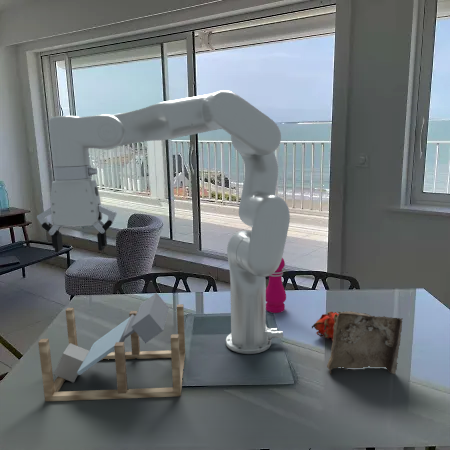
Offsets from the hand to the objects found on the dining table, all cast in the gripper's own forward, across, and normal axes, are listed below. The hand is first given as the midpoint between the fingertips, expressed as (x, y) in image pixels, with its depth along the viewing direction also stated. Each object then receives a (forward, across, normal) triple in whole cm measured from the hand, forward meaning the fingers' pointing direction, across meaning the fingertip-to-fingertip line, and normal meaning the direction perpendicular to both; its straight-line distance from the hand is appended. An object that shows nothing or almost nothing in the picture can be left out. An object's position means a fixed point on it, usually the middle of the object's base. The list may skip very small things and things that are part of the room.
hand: (80, 250), depth 94 cm
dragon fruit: (+32, -63, -15) cm, 72 cm away
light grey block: (+25, +3, 0) cm, 25 cm away
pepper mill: (+32, -50, -37) cm, 70 cm away
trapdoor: (+23, -10, 0) cm, 25 cm away
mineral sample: (+32, -65, +2) cm, 73 cm away
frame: (+32, -7, 0) cm, 32 cm away
